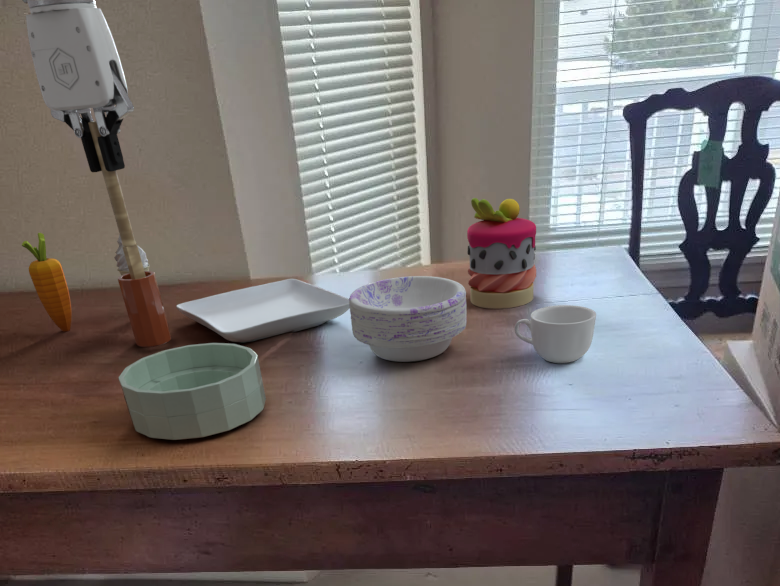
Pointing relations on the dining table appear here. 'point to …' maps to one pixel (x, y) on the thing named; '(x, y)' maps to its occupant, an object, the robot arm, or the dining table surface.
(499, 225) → the cake
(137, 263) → the stirring stick
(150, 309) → the utensil crock
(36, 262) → the carrot
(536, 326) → the teacup
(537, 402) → the dining table surface
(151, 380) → the mixing bowl
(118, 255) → the ice cream cone
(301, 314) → the plate
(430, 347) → the paper bowls
